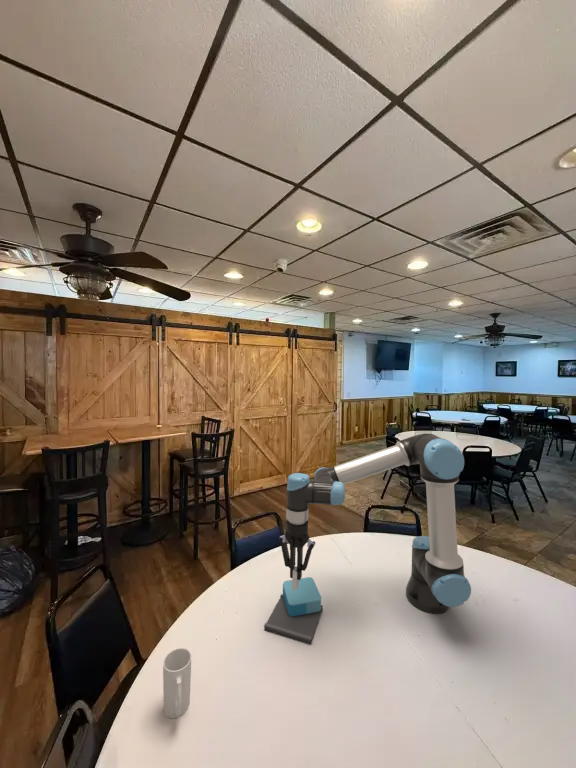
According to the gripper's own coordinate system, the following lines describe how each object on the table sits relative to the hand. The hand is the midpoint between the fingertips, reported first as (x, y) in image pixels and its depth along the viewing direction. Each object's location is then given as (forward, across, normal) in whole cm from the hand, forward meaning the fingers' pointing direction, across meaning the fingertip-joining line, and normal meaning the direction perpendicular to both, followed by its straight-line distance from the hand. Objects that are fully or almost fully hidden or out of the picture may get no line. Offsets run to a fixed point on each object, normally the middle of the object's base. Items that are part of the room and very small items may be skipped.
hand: (295, 587), depth 110 cm
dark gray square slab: (+11, 0, 0) cm, 11 cm away
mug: (+12, +18, +39) cm, 45 cm away
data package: (+8, -4, -2) cm, 9 cm away
